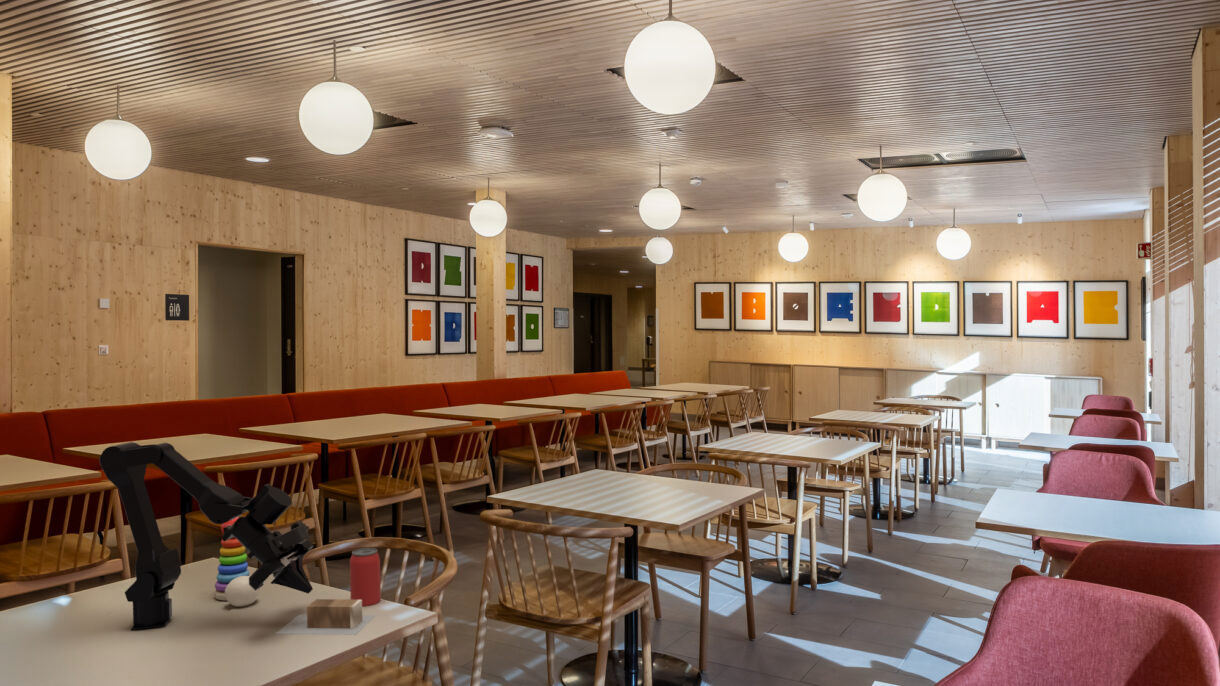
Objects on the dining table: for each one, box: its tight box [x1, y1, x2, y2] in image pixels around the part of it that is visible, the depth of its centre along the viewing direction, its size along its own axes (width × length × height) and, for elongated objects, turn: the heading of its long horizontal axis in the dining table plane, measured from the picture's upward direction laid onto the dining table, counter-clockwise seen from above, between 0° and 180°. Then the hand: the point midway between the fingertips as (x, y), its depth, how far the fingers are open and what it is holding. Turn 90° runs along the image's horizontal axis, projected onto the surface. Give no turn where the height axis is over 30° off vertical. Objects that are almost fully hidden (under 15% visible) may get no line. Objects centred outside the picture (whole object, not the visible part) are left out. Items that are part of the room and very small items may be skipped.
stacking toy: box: [213, 516, 250, 601], centre depth 191 cm, size 8×8×19 cm
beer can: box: [349, 547, 382, 608], centre depth 184 cm, size 7×7×12 cm
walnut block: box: [306, 598, 363, 628], centre depth 170 cm, size 4×4×10 cm
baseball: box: [225, 575, 260, 608], centre depth 184 cm, size 7×7×7 cm
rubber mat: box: [275, 614, 376, 636], centre depth 170 cm, size 17×11×1 cm, turn 86°
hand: (310, 591), depth 171 cm, fingers closed
